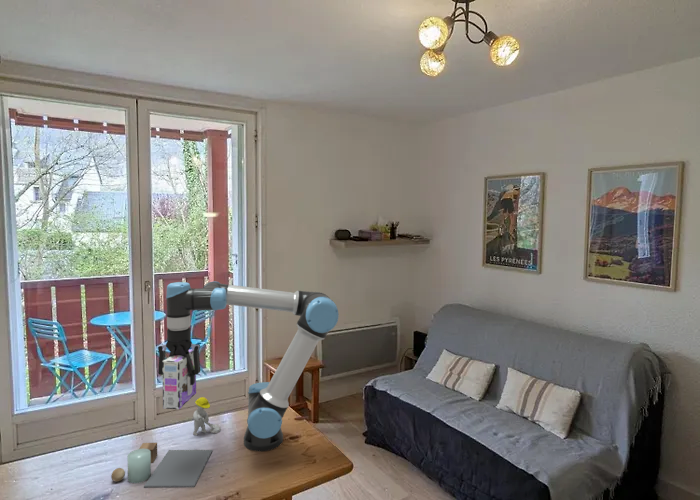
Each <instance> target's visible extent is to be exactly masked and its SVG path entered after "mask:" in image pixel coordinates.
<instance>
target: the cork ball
mask: <svg viewBox="0 0 700 500" xmlns="http://www.w3.org/2000/svg"><path fill="white" fill-rule="evenodd" d="M125 475H126V471H125V469H124V468H122V467H118V468H116V469H114V470H113V471H112V473H111V476H110V477H111V480H112V481H114V482H115V483H116V482H121V481H122V480H124V478H125Z"/></svg>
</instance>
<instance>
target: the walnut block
mask: <svg viewBox="0 0 700 500" xmlns="http://www.w3.org/2000/svg"><path fill="white" fill-rule="evenodd" d="M138 449H149V450H150V451H151V464H154V462H155V460H156V459H157V457H158V442H143V443H142V444H141V445H140V446H139V448H138Z"/></svg>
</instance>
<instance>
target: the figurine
mask: <svg viewBox="0 0 700 500" xmlns="http://www.w3.org/2000/svg"><path fill="white" fill-rule="evenodd" d="M194 403H195V405H196V407H197V408H196V409H195V410H194V412H193V413H192V414H193V415H192V418H193V423H194V424H193V425H194V429H193V432H192V435H193V436H199V434H198V431H199V429H200V428H201V432H202V433H203V434H206V433H208V431H207V429H206V425H207V426H208V427H210V429H209V432H210V433H211V434H218V433H220V431H221V430H222V429H221V426H220V425H219V424H216V423H215V424H213V423H210V422H209V421H210V419H209V414H208V412H207V411H206V410H205V409H209V408H210V407H211V405H210V403H209V400H208V399H207V398H206V397H204V396H202V397H198V399H196V400H195V402H194Z"/></svg>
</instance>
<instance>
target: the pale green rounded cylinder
mask: <svg viewBox="0 0 700 500" xmlns="http://www.w3.org/2000/svg"><path fill="white" fill-rule="evenodd" d="M126 459H127V481H128V482H129V483H130V484H131V483H132V484H139V483H143V482H145V481H146V482H147V481H148V479H149V478H150V477H151V475H152V467H151V466H152V463H151V451H150V450H149V449H139V448H137V449H134V450H132V451H131V452H129V453H128V454H127V458H126Z"/></svg>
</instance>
